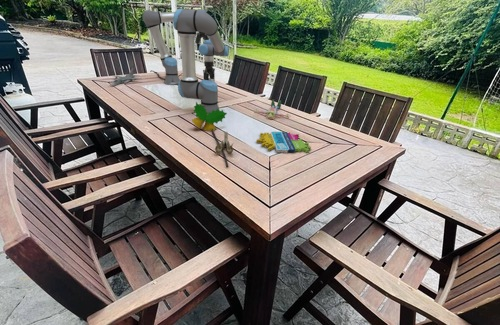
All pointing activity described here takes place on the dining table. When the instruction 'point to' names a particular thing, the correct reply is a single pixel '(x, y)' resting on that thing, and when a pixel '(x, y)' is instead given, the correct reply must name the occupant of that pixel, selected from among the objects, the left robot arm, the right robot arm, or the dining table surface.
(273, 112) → the toy
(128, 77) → the airplane
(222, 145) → the jawbone
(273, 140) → the colourful gloves pack
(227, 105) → the dining table surface
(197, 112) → the ornament
